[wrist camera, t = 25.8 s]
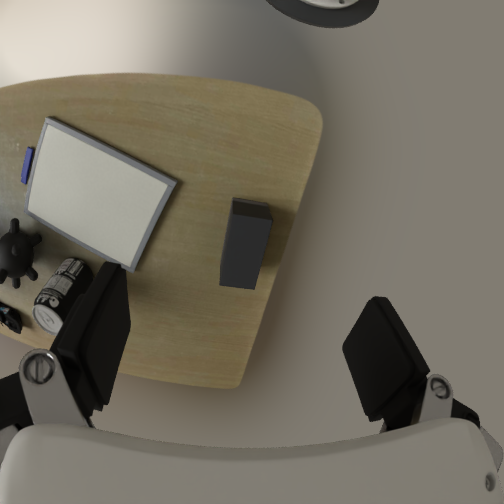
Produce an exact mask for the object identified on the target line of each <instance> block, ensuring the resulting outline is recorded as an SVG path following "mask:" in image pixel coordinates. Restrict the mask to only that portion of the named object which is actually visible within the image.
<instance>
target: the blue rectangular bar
mask: <svg viewBox="0 0 504 504" xmlns="http://www.w3.org/2000/svg"><path fill="white" fill-rule="evenodd" d="M32 153H33V149H32V148H30V147H27V151H26V155H25V159H24V164H23V169H22V174H21V177H23V178H24V179H27V174H28V170H29V165H30V161H31V157H32Z"/></svg>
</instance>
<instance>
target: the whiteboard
mask: <svg viewBox="0 0 504 504" xmlns="http://www.w3.org/2000/svg"><path fill="white" fill-rule="evenodd" d="M177 182H178V181H177V180H175V179H173V178H171V177H169V176H167V175H166V174H164V173H162V172H160V171H158V170H156V169H154V168H152V167H150V166H148V165H146V164H144V163H143V162H141V161H139V160H137V159H135V158H133V157H131V156H129V155H127V154H125V153H123V152H121V151H119V150H117V149H115V148H113V147H111V146H109V145H107V144H105V143H103V142H101V141H99V140H97V139H95V138H93V137H91V136H89V135H87V134H85V133H83V132H81V131H79V130H77V129H75V128H72V127H70V126H68V125H66V124H64V123H62V122H60V121H58V120H56V119H54V118H51V117H46V119H45V123H44V125H43V128H42V132H41V135H40V138H39V142H38V145H37V149H36V153H35V157H34V161H33V165H32V169H31V174H30V178H29V183H28V189H27V194H26V200H25V207H24V213H26V214H28V215H29V216H31V217H32V218H34V219H36V220H37V221H39V222H41V223H42V224H44V225H46V226H47V227H49V228H51V229H52V230H54V231H56V232H57V233H59V234H61V235H62V236H64V237H66V238H68V239H69V240H71V241H73V242H75V243H77V244H78V245H80V246H82V247H84V248H86V249H87V250H89V251H91V252H93V253H95V254H97V255H98V256H100V257H102V258H104V259H106V260H108V261H110V262H113V263H119V264H121V267H122V268H124V269H125V270H127V271H129V272H131V273H134V271H135V268H136V266H137V264H138V261H139V259H140V257H141V255H142V252H143V250H144V248H145V246H146V244H147V241H148V239H149V237H150V235H151V233H152V231H153V229H154V227H155V224H156V222H157V220H158V218H159V216H160V214H161V212H162V210H163V208H164V206H165V204H166V202H167V200H168V199H169V197H170V195H171V193H172V191H173V189H174V187H175V185H176V183H177Z"/></svg>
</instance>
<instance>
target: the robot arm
mask: <svg viewBox="0 0 504 504" xmlns="http://www.w3.org/2000/svg"><path fill="white" fill-rule="evenodd" d="M300 1H302V2H304V3H307V4H309V5H312V6H315V7H320V8H325V9H341V8H345V7H348V6H350V5H352V4H354V3H355V2H357V1H358V0H300ZM339 2H340V3H341V4H340V3H339ZM130 327H131V320H130V312H129V302H128V291H127V278H126V270H125V269H124V268H122V267H121V264H119V263H113V262H107V261H106V262H104V264H103V265H102V267H101V268H100V270H99V272H98V273H97V275H96V277H95V278H94V280H93V281H92V283H91V285H90V286H89V288H88V290H87V292H86V293H85V294H80V295H79V296H78V298H77V299H76V301H75V303H74V305H73V306H72V308H71V310H70V312H69V313H68V315H67V317H66V319H65V321H64V323H63V324H62V326H61V328H60V330H59V332H58V334H57V336H56V338H55V340H54V342H53V344H52V346H51V348H50V350H47V349H40V348H39V349H34V350H32V351H30V352H28V353H27V354H26V355H25V356H24V357H23V358H22V360H21V362H20V365H19V372H17V373H15V374H12V375H9V376H8V377H5V378H2V379H0V465H1V463H2V462H3V463H2V466H1V470H0V504H504V496H503V491H502V487H501V484H500V480H499V476H498V470H499V468H500V465H501V462H502V459H503V451H502V448H501V446H500V445H499V444H498V443H497V442H496V441H495V439H494V438H493V437H492V436H491V435H489V433H488V432H487V431H486V430H485V429H484V428H483V427H482V426H481V427H480V421H479V417H478V415H477V413H476V412H474V411H473V410H472V409H470V408H468V407H467V406H465V405H463V404H462V403H460V402H459V401H457V400H455V399H454V398H453V390H452V387H451V385H450V383H449V382H448V380H447V379H446V378H444V377H443V376H441V375H438V374H433V375H431V376H430V377H429V378H428V379H427V377H426V375H427V374H428V373H429V372H430V369H429V367H428V365H427V364H426V362H425V360H424V358H423V356H422V354H421V353H420V351H419V349H418V347H417V346H416V344H415V342H414V340H413V339H412V337H411V335H410V334H409V332H408V330H407V329H406V327H405V326H404V324H403V322H402V320H401V319H400V317H399V315H398V314H397V312H396V311H395V309H394V307H393V306H392V304H391V303H390V301H389V300H388V299H387V298H386V297H378V296H375V297H373V298H372V299H371V300H369V301H368V302H367V304H366V306H365V308H364V309H363V311H362V313H361V315H360V316H359V318H358V320H357V321H356V323H355V325H354V327H353V328H352V330H351V332H350V333H349V335H348V336H347V338H346V340H345V341H344V343H343V347H342V350H343V353H344V356H345V359H346V361H347V364H348V367H349V370H350V372H351V375H352V378H353V381H354V384H355V387H356V389H357V392H358V395H359V398H360V401H361V404H362V407H363V410H364V413H365V415H367V416H368V418H369V421H370V422H373V421H378V420H381V419H382V418H383V419H384V423H383V425H382V428H381V430H380V433H379V434H376V435H371V436H366V437H361V438H356V439H351V440H344V441H338V442H332V443H324V444H316V445H307V446H294V447H281V448H280V447H279V448H221V447H205V446H194V445H185V444H177V443H169V442H162V441H155V440H149V439H143V438H138V437H133V436H128V435H123V434H118V433H114V432H109V431H103V430H99V429H96V428H95V426H94V424H93V423H92V421H91V419H90V416H92V414H93V410H94V409H95V410H98V411H102V409H103V405H108V403H109V400H110V397H111V393H112V389H113V385H114V381H115V378H116V374H117V371H118V367H119V364H120V361H121V357H122V354H123V351H124V348H125V344H126V341H127V338H128V335H129V332H130Z"/></svg>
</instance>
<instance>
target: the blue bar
mask: <svg viewBox="0 0 504 504" xmlns="http://www.w3.org/2000/svg"><path fill="white" fill-rule="evenodd" d="M32 156H33V155H32ZM31 160H32V157H31ZM30 165H31V161H30ZM30 165H29V169H30ZM28 174H29V170H28ZM28 174H27V178H28ZM21 182H23V183H24V184H26V183H27V179H24V178H23V177H22V178H21Z"/></svg>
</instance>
